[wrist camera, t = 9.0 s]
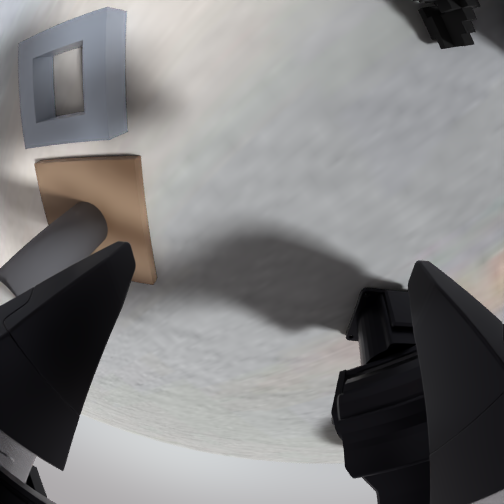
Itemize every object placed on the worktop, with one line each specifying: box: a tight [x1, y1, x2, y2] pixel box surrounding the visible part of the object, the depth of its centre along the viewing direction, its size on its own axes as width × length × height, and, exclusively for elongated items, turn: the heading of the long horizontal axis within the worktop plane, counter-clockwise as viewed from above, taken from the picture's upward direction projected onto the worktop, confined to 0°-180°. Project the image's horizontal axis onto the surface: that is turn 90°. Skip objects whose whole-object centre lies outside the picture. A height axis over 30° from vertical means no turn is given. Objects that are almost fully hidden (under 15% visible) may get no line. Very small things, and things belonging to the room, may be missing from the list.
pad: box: [34, 156, 157, 285], centre depth 25 cm, size 12×12×1 cm
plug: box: [0, 202, 108, 306], centre depth 19 cm, size 5×5×12 cm
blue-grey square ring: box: [18, 7, 128, 149], centre depth 17 cm, size 10×10×3 cm
